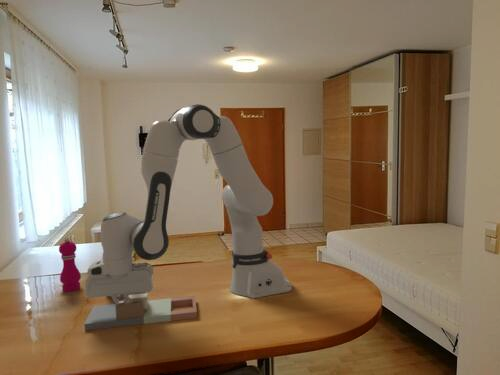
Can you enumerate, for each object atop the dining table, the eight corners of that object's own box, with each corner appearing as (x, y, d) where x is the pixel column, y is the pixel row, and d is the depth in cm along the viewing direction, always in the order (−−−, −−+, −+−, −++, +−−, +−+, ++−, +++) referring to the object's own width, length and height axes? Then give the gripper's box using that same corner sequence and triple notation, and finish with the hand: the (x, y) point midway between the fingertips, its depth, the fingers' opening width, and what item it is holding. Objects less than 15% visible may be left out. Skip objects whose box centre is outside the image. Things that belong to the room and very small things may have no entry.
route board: (195, 301, 137) (194, 284, 136) (197, 317, 124) (196, 299, 123) (94, 311, 131) (92, 294, 130) (85, 330, 118) (83, 311, 117)
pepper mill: (61, 293, 148) (56, 241, 145) (60, 287, 154) (55, 237, 152) (82, 289, 151) (77, 238, 149) (80, 284, 157) (76, 234, 155)
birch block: (148, 304, 130) (147, 293, 130) (147, 312, 124) (146, 300, 124) (129, 306, 129) (128, 294, 129) (127, 314, 123) (126, 302, 123)
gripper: (153, 259, 129) (155, 300, 131) (86, 264, 126) (90, 306, 127) (151, 265, 123) (154, 307, 125) (81, 271, 119) (85, 315, 121)
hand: (121, 307), depth 126 cm, fingers closed
